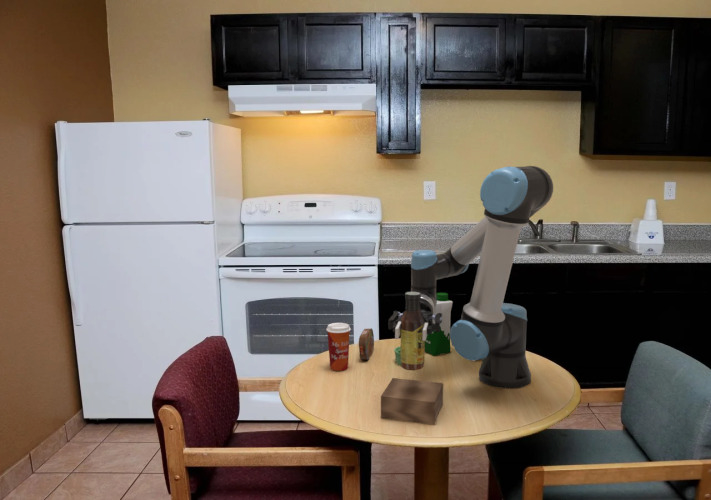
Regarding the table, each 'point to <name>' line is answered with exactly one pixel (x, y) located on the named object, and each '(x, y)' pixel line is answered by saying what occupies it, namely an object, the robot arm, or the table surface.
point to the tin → (366, 344)
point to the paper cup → (338, 345)
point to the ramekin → (398, 355)
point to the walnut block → (412, 401)
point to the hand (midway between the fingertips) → (410, 334)
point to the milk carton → (440, 340)
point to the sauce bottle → (412, 334)
